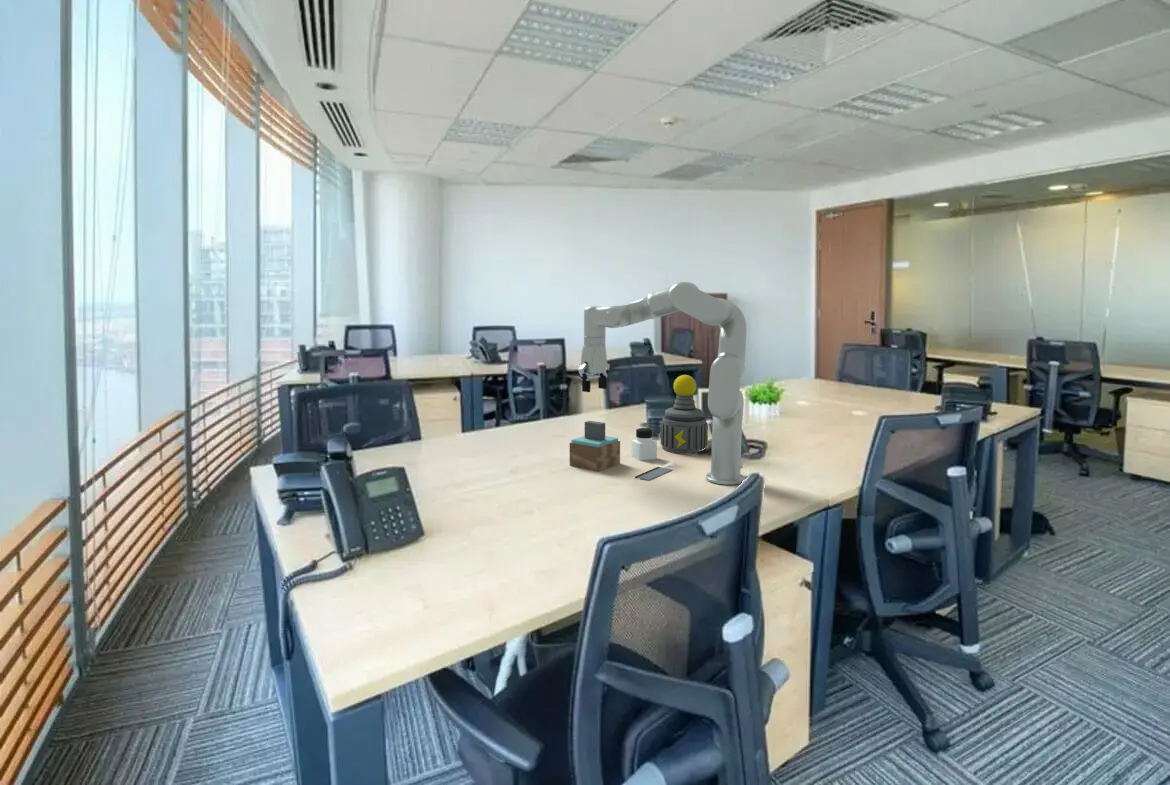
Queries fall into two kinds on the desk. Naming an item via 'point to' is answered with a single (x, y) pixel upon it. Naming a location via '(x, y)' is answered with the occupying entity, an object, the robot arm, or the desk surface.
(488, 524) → the desk surface
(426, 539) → the desk surface
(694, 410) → the decorative lamp
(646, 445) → the medicine bottle
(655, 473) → the mat
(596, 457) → the box
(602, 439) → the lid
